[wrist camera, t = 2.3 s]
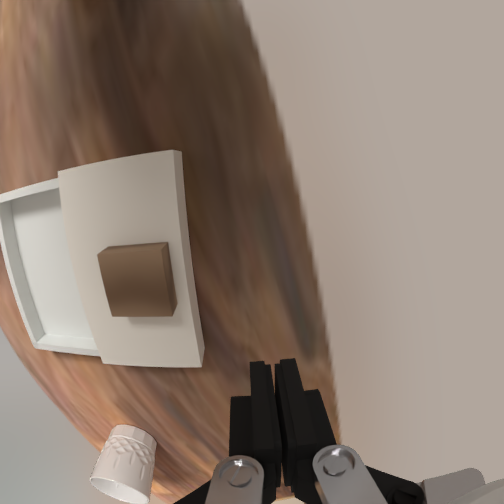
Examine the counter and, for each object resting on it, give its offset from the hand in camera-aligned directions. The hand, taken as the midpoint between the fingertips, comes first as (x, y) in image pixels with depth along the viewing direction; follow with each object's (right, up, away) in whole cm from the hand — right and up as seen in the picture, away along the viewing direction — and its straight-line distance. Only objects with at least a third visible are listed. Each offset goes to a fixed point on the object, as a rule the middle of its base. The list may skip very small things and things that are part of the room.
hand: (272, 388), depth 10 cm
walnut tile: (-9, +3, +11) cm, 15 cm away
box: (-21, +3, +13) cm, 25 cm away
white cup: (-17, -21, +21) cm, 35 cm away
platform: (-11, +4, +14) cm, 18 cm away
